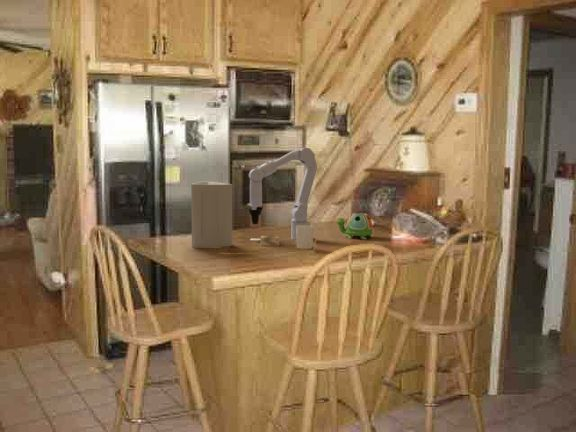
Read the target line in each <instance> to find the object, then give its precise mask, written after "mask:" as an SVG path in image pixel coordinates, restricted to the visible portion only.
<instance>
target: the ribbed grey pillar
mask: <svg viewBox="0 0 576 432" xmlns="http://www.w3.org/2000/svg"><path fill="white" fill-rule="evenodd" d="M190 192H191V201H190V202H191V247H192V248H195V249H196V248H197V249H198V248H199V249H200V248H201V249H222V248H223V247H231V246H233V184H231V183H225V182H218V181H217V182H216V181H198V182H195V183H194V182H193V183H191V191H190Z"/></svg>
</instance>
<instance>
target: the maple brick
mask: <svg viewBox="0 0 576 432" xmlns="http://www.w3.org/2000/svg"><path fill="white" fill-rule="evenodd" d="M259 239H260V243H259V246H266V245H275V246H274V247H279V246H280V235H261V236H260V238H259ZM278 245H279V246H278Z"/></svg>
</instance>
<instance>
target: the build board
mask: <svg viewBox="0 0 576 432" xmlns="http://www.w3.org/2000/svg"><path fill="white" fill-rule="evenodd" d="M249 241H260V238H255V237H254V238H252V237H251V238H250V239H249ZM265 246H270V247H276V246H275V245H265ZM279 246H280V244H279V245H278V246H277V247H279Z"/></svg>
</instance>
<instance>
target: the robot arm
mask: <svg viewBox="0 0 576 432" xmlns="http://www.w3.org/2000/svg"><path fill="white" fill-rule="evenodd" d="M291 161H299V162H301V163H302V165H303V166H304V167H305V171H304V174H303V179H302V181H301V184H300V189H299V192H298V196H297V200H295V201H296V202H294V206H293V207H292V208H291V210H290V217H291V218H292V219H291V220H290V222H291V224H290V233H291V234H290V237H291V238H290V239H292V240H295V241H296V226H299V225H309V226H311V221H307V218H308V208H309V207H308V203H309V199H310V195H311V191H312V188H313V185H314V180H315V177H316V174H317V170H318V164H317V161H316V155H315V153H314V152H313V150H312V149H311V148H310V147H299V148H297V149H294V150H291V151H290V152H288V153H286V154H285V155H283V156H281V157H279V158H278V159H276V160H274V161H273V160H266V161H265V163H262V164H261V165H257V166H256V168H253V169H251V170H250V171H249V173H248V179H249V203H247V204H246V205H247V206H250V208H248V212H249V215H250V216H251V217H252V222H253V224H258V218H259V215H261V214H262V210H263V184H262V183H263V179H264V178H267V177H268V176H270V175H272V174H274V173H276V172H277V170H278V168H279V167H281V166H283V165H285V164H287V163H289V162H291Z"/></svg>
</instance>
